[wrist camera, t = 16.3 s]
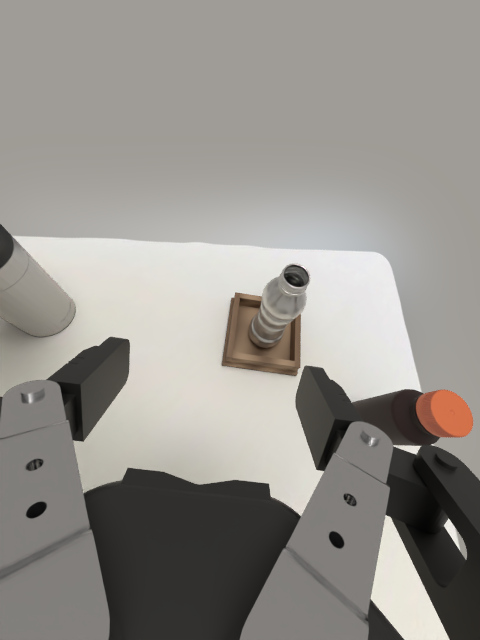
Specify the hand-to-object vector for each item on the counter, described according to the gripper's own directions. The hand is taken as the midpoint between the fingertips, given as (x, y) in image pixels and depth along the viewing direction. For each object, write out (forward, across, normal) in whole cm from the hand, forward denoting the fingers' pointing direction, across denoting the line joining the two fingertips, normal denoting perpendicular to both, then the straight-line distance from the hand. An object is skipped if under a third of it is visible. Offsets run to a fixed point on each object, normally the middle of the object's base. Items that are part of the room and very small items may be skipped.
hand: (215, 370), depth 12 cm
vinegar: (+26, -26, +23) cm, 44 cm away
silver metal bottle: (+36, -8, +12) cm, 39 cm away
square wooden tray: (+36, -8, +13) cm, 39 cm away
